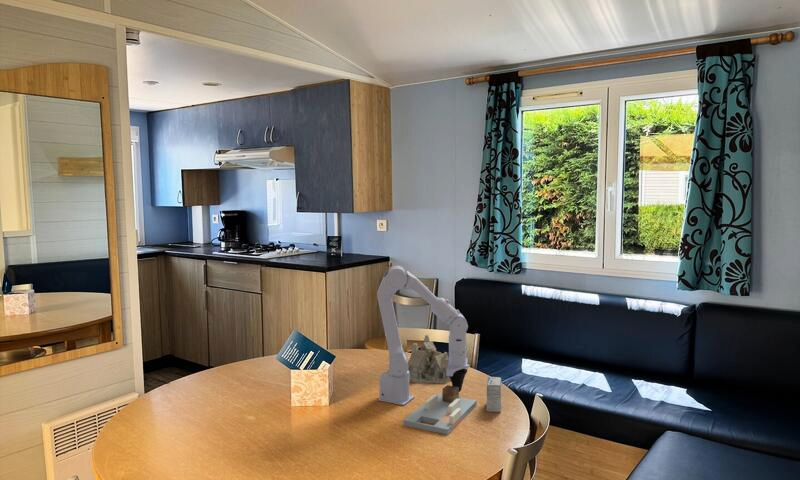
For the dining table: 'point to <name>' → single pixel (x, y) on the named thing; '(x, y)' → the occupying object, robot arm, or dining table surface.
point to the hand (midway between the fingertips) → (457, 391)
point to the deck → (440, 414)
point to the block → (450, 393)
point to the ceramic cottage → (428, 364)
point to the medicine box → (494, 394)
